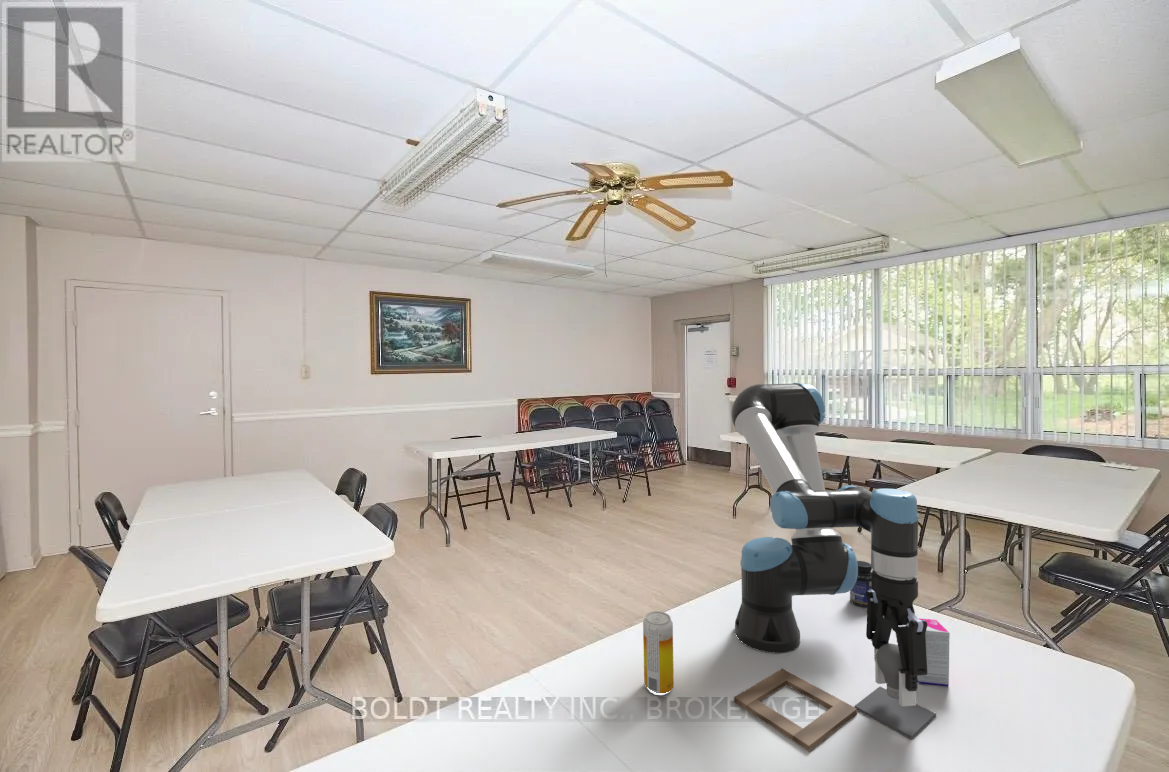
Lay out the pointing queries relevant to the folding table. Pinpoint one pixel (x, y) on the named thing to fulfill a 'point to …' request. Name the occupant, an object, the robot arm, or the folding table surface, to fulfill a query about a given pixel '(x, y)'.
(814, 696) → the wooden picture frame
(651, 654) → the beer can
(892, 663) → the light bulb
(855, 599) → the pill bottle
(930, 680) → the supplement box
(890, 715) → the mat
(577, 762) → the folding table surface
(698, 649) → the folding table surface
